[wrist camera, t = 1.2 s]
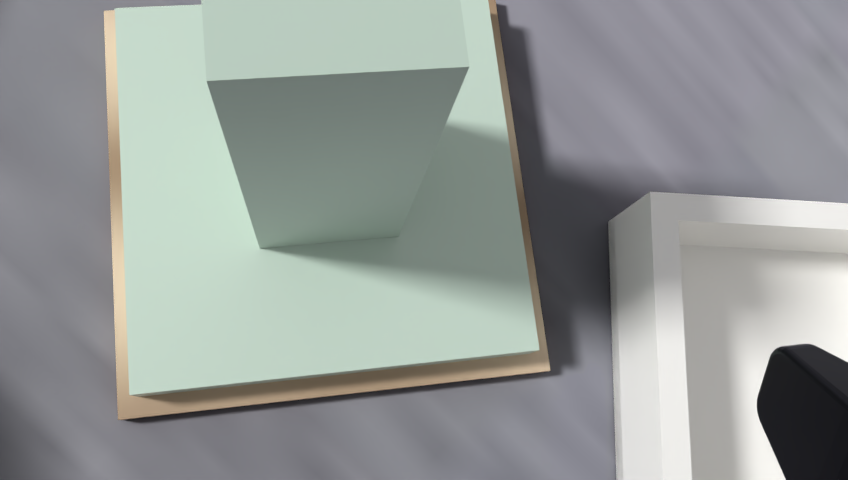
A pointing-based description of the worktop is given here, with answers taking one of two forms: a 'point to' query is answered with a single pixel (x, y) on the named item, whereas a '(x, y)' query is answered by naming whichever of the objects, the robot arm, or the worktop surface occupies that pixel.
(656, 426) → the dish
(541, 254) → the worktop surface
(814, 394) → the robot arm
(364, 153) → the mint green stamp
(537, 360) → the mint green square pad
